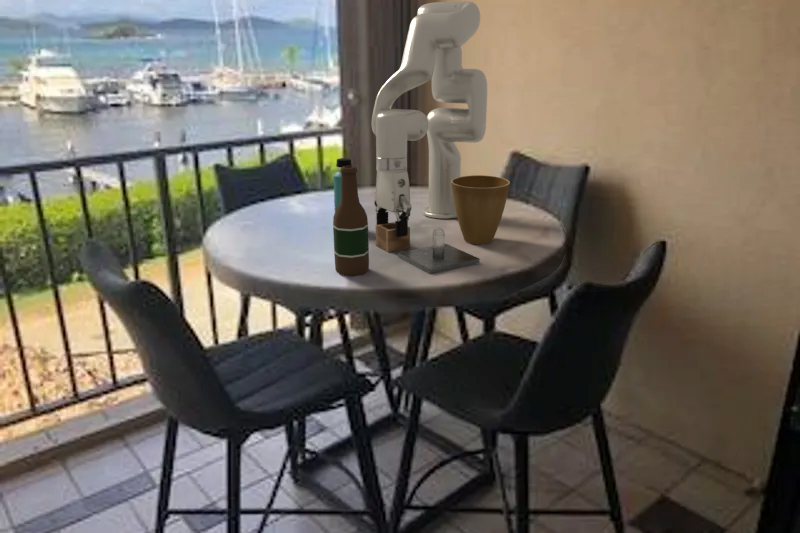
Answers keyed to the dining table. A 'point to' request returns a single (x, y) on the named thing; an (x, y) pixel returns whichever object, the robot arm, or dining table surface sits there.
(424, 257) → the post block
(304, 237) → the dining table surface
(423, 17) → the robot arm
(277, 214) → the dining table surface
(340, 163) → the beverage bottle
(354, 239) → the beer bottle
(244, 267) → the dining table surface
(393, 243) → the walnut collar
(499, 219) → the plant pot
